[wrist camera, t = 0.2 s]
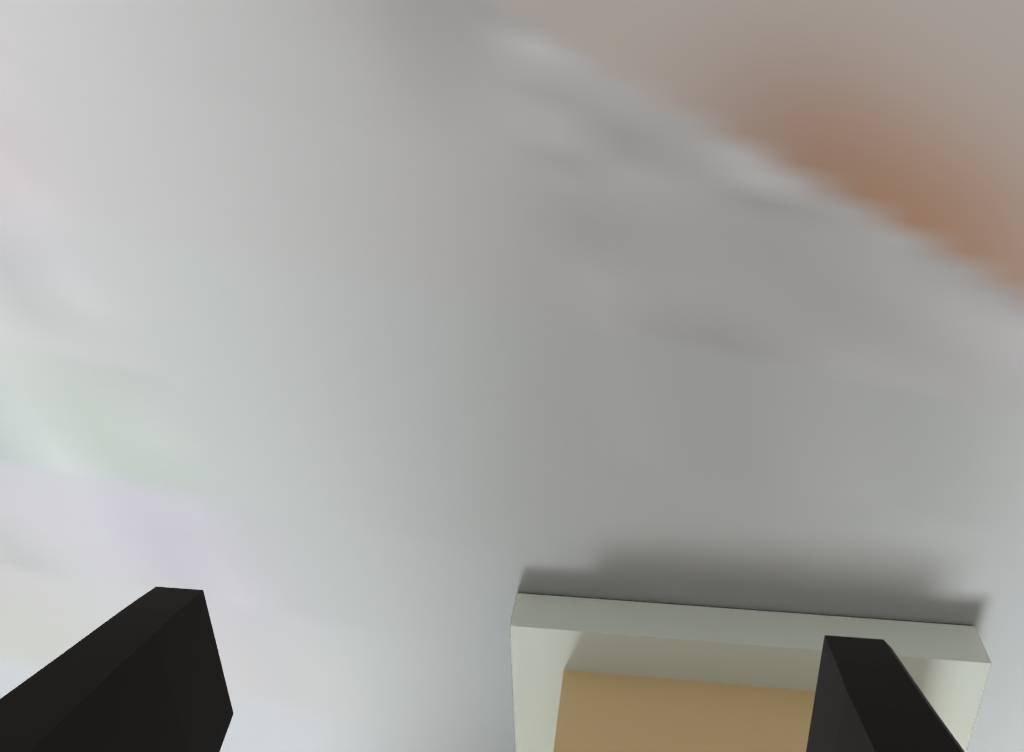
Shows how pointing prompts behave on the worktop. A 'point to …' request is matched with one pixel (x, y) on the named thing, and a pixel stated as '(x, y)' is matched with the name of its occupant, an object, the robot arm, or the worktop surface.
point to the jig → (706, 674)
